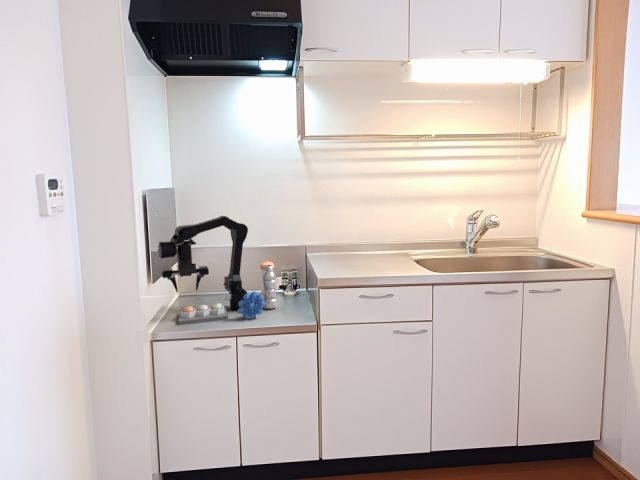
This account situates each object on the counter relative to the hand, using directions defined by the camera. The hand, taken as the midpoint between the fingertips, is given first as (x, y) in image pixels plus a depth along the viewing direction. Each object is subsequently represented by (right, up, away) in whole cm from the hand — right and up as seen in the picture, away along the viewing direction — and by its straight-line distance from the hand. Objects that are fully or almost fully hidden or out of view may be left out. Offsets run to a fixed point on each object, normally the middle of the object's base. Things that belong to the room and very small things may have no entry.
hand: (187, 291), depth 185 cm
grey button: (+6, -9, +3) cm, 11 cm away
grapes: (+28, -12, +1) cm, 30 cm away
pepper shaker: (+31, -7, +30) cm, 44 cm away
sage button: (+12, -9, +5) cm, 15 cm away
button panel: (+6, -12, +3) cm, 13 cm away
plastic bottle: (+34, -10, +14) cm, 38 cm away
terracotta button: (0, -9, +1) cm, 10 cm away
